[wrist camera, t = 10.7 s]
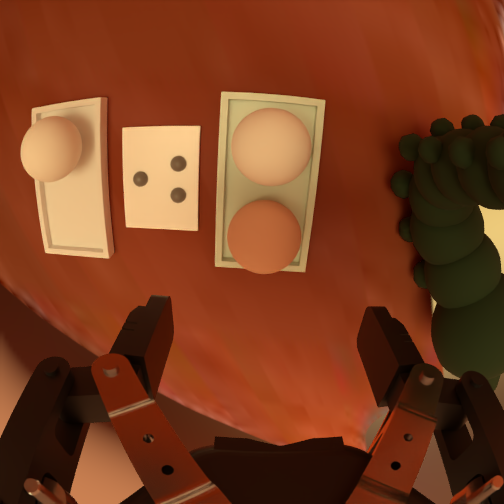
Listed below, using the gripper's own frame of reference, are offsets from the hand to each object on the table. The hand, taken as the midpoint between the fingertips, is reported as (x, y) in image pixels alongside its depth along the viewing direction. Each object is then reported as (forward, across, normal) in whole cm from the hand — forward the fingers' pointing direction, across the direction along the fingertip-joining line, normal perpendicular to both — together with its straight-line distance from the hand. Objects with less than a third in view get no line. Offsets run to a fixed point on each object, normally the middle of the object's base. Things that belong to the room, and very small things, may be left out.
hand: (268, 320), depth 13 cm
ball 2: (+12, 0, -6) cm, 14 cm away
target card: (+13, +8, -3) cm, 15 cm away
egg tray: (+13, +16, -3) cm, 21 cm away
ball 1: (+12, +16, -6) cm, 21 cm away
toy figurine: (+13, -16, +1) cm, 21 cm away
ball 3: (+12, 0, 0) cm, 12 cm away
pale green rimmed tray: (+13, 0, -3) cm, 13 cm away
